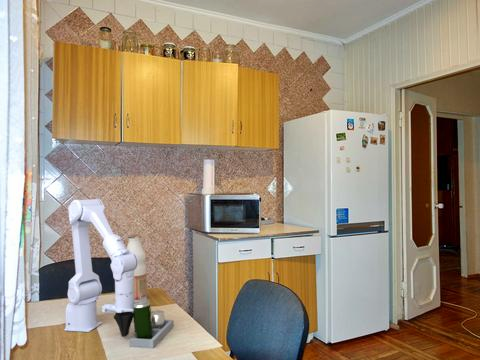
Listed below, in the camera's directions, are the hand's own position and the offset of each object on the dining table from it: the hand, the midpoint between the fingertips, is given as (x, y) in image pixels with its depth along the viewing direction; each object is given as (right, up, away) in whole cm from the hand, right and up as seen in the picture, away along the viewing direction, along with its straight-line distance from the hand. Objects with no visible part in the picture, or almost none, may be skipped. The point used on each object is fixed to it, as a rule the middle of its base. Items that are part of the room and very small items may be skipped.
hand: (125, 335), depth 116 cm
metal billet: (+8, -1, +7) cm, 11 cm away
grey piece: (+8, -1, +3) cm, 9 cm away
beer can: (+6, -1, -1) cm, 7 cm away
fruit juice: (-7, -2, +36) cm, 37 cm away
